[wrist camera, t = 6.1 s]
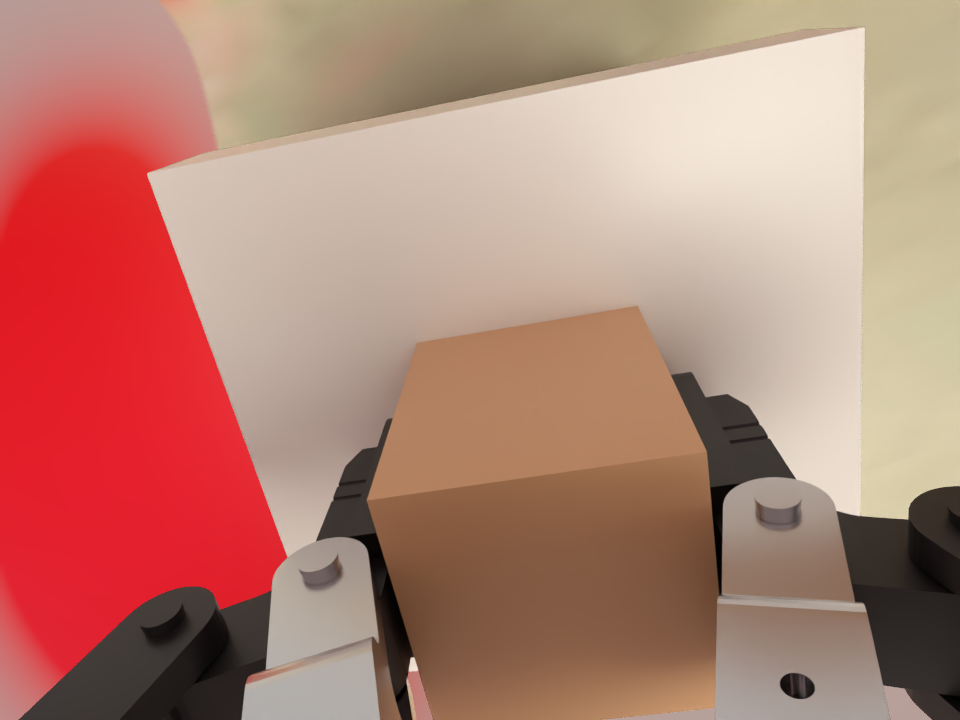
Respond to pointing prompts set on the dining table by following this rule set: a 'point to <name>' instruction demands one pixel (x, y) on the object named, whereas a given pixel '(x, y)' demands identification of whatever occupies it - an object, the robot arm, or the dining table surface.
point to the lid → (546, 348)
